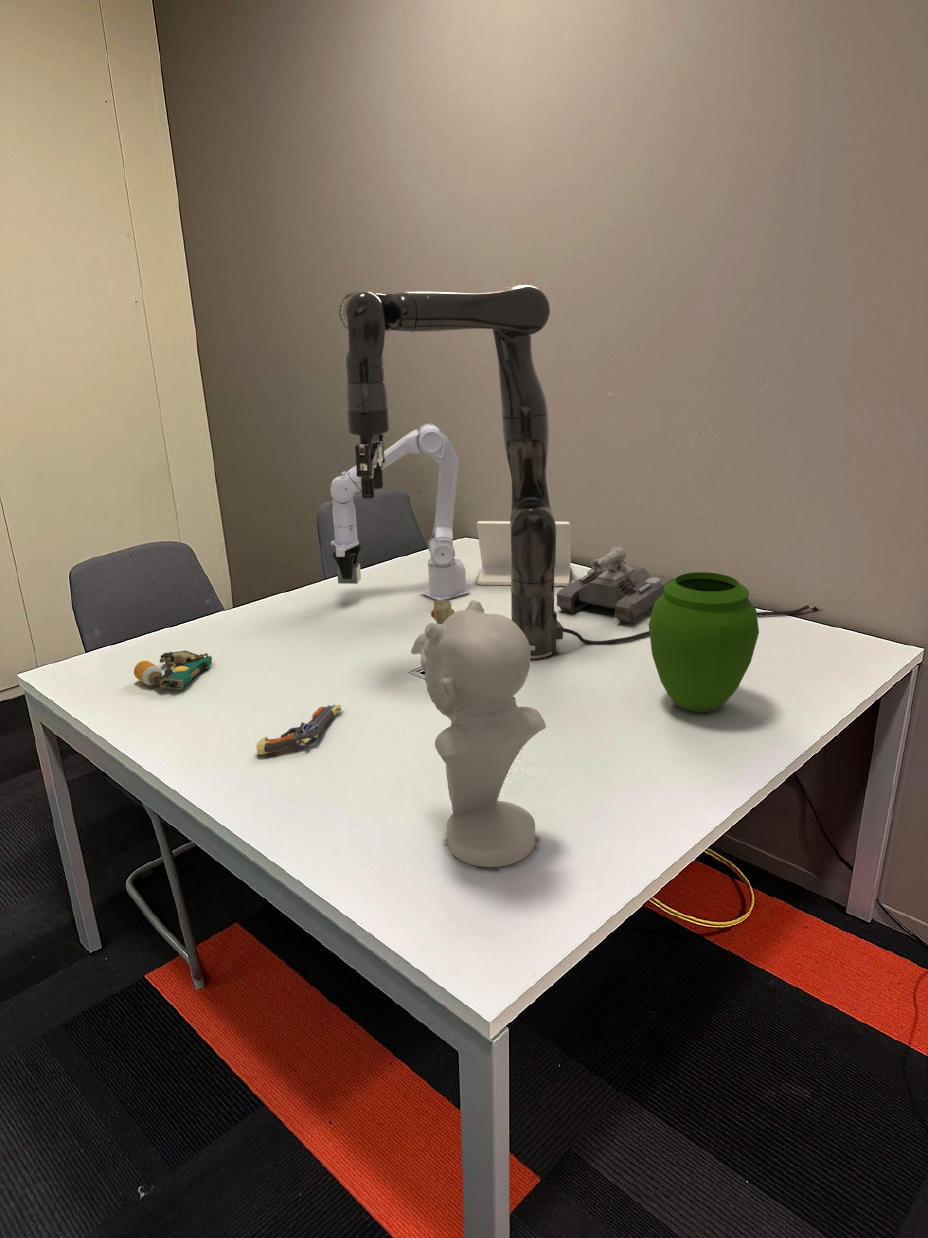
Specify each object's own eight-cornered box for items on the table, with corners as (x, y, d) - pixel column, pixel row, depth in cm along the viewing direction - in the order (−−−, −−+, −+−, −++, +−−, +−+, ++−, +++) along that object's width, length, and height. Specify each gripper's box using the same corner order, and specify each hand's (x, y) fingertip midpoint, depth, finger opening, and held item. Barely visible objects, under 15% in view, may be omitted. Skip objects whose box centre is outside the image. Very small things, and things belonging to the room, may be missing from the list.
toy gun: (251, 744, 146) (305, 742, 144) (292, 702, 164) (341, 700, 162) (254, 759, 147) (308, 756, 145) (295, 715, 165) (344, 713, 163)
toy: (603, 584, 229) (605, 530, 224) (673, 597, 218) (677, 540, 213) (555, 612, 210) (556, 553, 205) (630, 627, 199) (633, 566, 194)
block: (342, 578, 223) (340, 563, 222) (361, 578, 223) (359, 563, 221) (338, 583, 219) (336, 568, 218) (357, 583, 219) (356, 568, 217)
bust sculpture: (481, 772, 140) (476, 569, 128) (565, 848, 120) (569, 617, 108) (392, 800, 134) (378, 588, 121) (465, 886, 114) (457, 642, 101)
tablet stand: (569, 585, 229) (570, 524, 223) (476, 584, 232) (475, 523, 226) (570, 566, 246) (571, 508, 240) (484, 564, 249) (483, 507, 243)
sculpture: (458, 662, 183) (456, 596, 178) (460, 676, 176) (457, 608, 171) (431, 663, 183) (428, 597, 177) (431, 677, 176) (428, 609, 171)
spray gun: (177, 659, 191) (231, 671, 185) (120, 684, 176) (176, 698, 171) (176, 641, 190) (230, 653, 184) (118, 665, 175) (174, 678, 169)
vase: (763, 694, 164) (775, 574, 156) (734, 737, 149) (746, 606, 140) (665, 674, 174) (672, 560, 166) (628, 712, 159) (634, 588, 150)
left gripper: (336, 517, 223) (341, 567, 228) (322, 532, 209) (327, 584, 214) (363, 517, 222) (366, 567, 227) (350, 532, 209) (354, 584, 213)
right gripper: (355, 402, 165) (361, 485, 171) (338, 412, 152) (345, 501, 157) (394, 401, 164) (398, 485, 170) (379, 411, 151) (385, 501, 157)
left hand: (349, 575), depth 220 cm, fingers closed on block, 4 cm apart
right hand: (373, 493), depth 164 cm, fingers open, 8 cm apart
